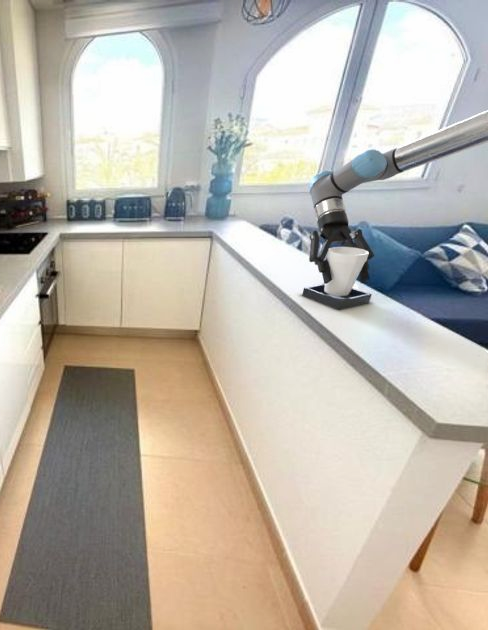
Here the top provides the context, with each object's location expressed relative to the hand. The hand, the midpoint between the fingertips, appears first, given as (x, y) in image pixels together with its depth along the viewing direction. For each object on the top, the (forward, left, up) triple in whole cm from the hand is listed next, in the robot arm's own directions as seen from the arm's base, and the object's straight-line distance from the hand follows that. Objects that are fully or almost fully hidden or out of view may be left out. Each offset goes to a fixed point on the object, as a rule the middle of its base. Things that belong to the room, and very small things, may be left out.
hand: (346, 281), depth 102 cm
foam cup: (+3, -1, -5) cm, 6 cm away
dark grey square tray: (+3, -1, -7) cm, 8 cm away
